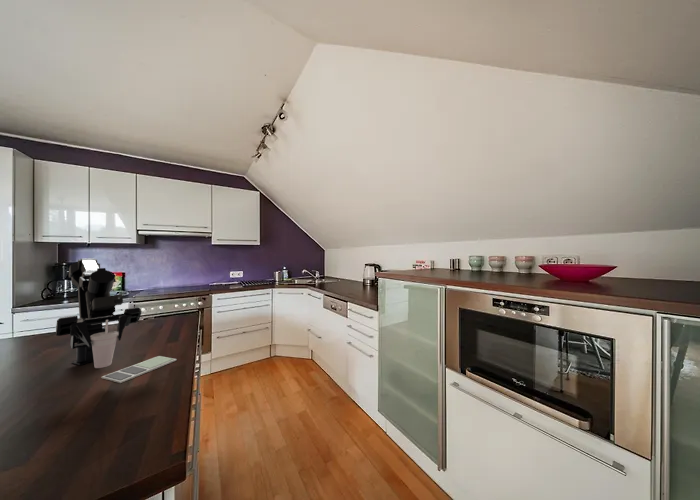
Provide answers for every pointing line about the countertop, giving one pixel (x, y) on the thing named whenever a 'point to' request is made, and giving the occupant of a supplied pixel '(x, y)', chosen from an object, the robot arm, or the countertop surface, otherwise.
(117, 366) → the countertop surface
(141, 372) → the board
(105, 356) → the smoothie
